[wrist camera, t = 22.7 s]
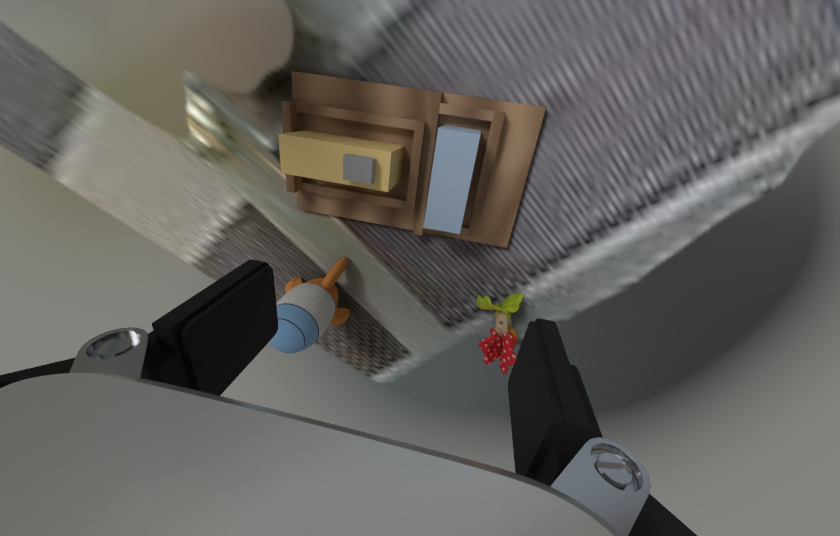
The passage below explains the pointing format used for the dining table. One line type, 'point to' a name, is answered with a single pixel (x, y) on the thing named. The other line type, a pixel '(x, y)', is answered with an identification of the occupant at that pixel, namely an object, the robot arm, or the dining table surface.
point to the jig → (416, 151)
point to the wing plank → (451, 177)
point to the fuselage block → (341, 159)
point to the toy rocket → (308, 310)
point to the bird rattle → (500, 331)
